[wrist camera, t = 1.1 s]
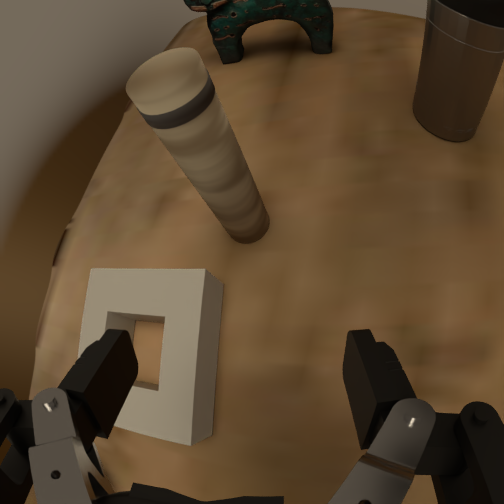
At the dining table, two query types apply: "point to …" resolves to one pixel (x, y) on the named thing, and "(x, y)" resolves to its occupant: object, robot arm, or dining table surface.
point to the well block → (163, 345)
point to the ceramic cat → (259, 10)
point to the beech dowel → (199, 138)
